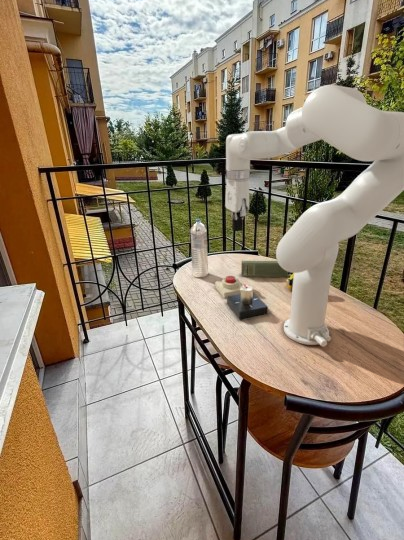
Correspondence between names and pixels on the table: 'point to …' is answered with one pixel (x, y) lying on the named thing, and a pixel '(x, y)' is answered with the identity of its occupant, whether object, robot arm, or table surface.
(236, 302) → the control panel
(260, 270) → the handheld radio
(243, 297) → the knob
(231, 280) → the button
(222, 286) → the button box
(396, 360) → the table surface
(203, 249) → the water bottle
